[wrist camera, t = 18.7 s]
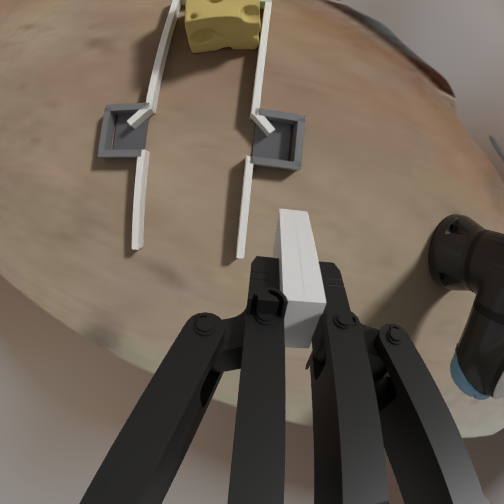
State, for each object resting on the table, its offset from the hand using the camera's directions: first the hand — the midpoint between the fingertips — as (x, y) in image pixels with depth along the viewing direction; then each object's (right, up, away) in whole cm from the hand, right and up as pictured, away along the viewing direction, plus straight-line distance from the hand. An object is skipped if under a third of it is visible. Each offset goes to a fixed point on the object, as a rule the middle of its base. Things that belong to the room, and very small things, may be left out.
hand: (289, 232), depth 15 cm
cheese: (-7, +35, +18) cm, 40 cm away
